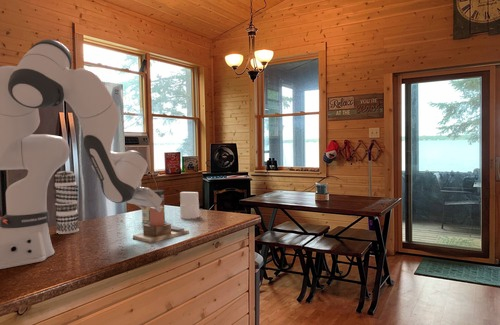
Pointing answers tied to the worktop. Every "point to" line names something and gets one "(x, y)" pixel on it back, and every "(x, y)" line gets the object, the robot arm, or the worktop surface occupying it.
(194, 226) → the worktop surface
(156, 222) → the red rectangular block
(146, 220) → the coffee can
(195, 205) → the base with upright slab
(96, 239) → the worktop surface
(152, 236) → the jig
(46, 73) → the robot arm
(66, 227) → the decorative candle
